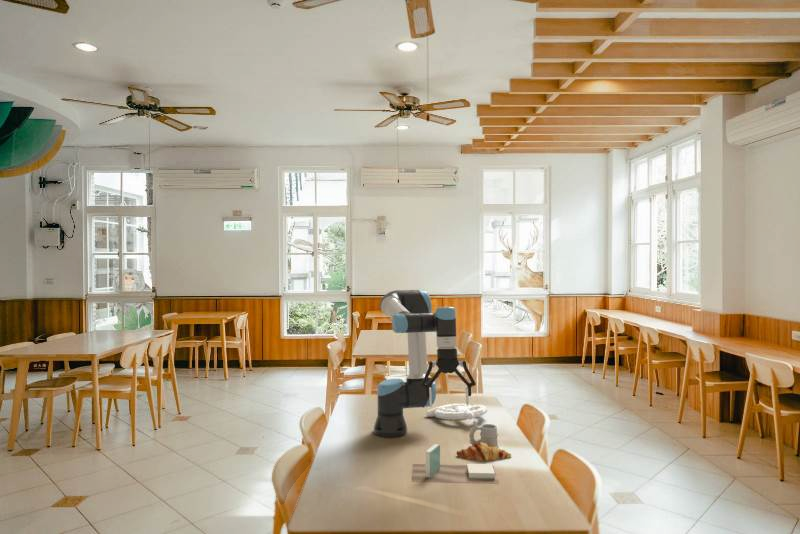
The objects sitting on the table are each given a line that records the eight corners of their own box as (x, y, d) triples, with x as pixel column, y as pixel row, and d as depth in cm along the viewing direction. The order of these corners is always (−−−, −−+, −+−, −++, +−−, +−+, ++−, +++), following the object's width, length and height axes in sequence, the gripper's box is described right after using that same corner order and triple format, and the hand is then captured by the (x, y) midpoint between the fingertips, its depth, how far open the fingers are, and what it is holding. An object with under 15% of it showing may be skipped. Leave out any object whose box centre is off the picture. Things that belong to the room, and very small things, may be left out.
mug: (499, 454, 198) (499, 424, 198) (469, 453, 199) (469, 423, 199) (497, 447, 205) (497, 418, 205) (469, 446, 207) (468, 417, 207)
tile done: (467, 469, 181) (467, 463, 181) (491, 469, 180) (491, 464, 180) (468, 478, 173) (468, 472, 173) (494, 479, 172) (494, 473, 172)
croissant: (509, 466, 195) (508, 444, 199) (514, 463, 186) (512, 440, 190) (456, 464, 196) (455, 443, 199) (458, 461, 187) (457, 439, 190)
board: (412, 467, 185) (412, 464, 185) (493, 468, 184) (493, 465, 184) (411, 485, 170) (411, 481, 170) (499, 487, 169) (499, 483, 169)
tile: (435, 468, 182) (434, 443, 181) (440, 469, 181) (439, 444, 181) (425, 476, 174) (425, 451, 174) (430, 477, 174) (430, 452, 173)
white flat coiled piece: (421, 421, 244) (420, 408, 245) (449, 412, 262) (448, 399, 263) (469, 425, 226) (467, 411, 227) (495, 415, 244) (494, 402, 245)
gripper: (413, 349, 183) (415, 408, 181) (481, 347, 182) (483, 406, 180) (414, 348, 191) (415, 404, 188) (479, 346, 189) (481, 403, 187)
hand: (449, 405), depth 184 cm, fingers open, 13 cm apart
